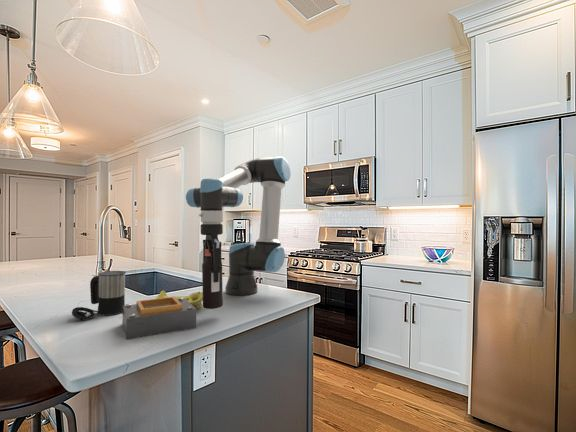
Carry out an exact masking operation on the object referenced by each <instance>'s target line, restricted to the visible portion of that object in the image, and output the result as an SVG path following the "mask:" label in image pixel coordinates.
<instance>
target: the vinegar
mask: <svg viewBox="0 0 576 432" xmlns="http://www.w3.org/2000/svg"><path fill="white" fill-rule="evenodd" d="M210 256H211V253H209V250H208V249H205V257H206V260H205V261H204V262H203V261H202V264H201V267H202V269H201V271H202V274H201V275H202V277H201V278H202V279H201V280H202V285H201V286H202V292H203V300H202V308H204V309H206V310H213V309H214V310H216V309H219V308H222V307H223V298H224V297H223V294H224V291H223V270H222V271H220V272H219V291H217V292H211V273H210V271H212V265H211V257H210Z"/></svg>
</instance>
